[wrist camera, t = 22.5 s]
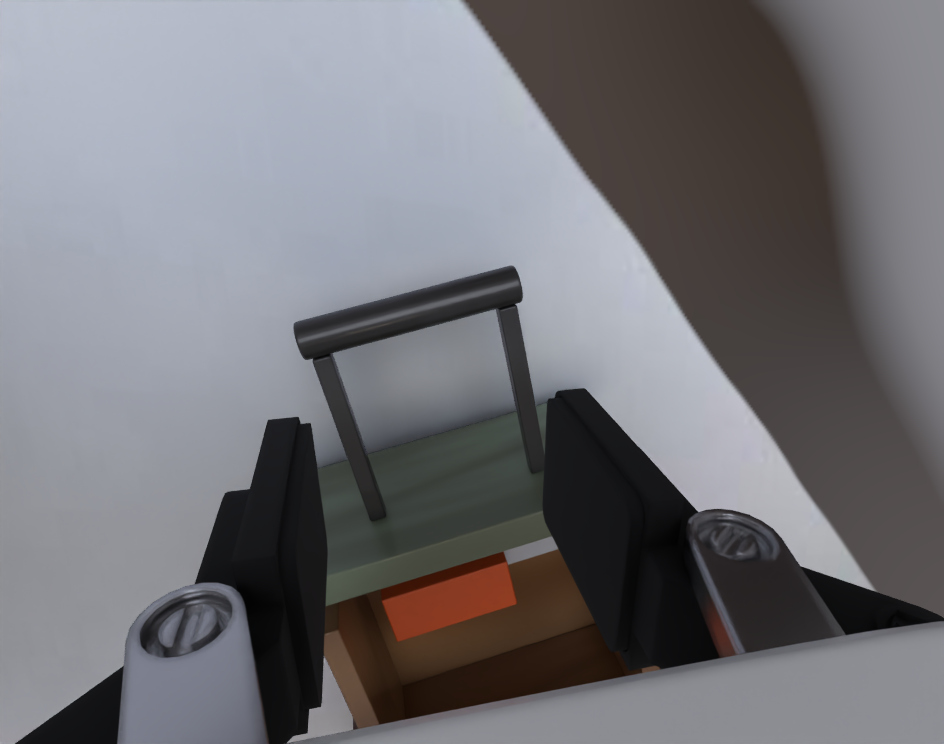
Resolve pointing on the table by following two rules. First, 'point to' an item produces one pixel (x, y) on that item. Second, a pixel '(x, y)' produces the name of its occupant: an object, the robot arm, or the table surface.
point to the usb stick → (456, 592)
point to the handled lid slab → (444, 531)
